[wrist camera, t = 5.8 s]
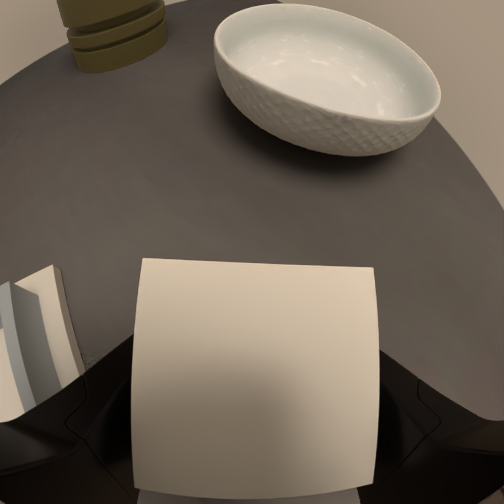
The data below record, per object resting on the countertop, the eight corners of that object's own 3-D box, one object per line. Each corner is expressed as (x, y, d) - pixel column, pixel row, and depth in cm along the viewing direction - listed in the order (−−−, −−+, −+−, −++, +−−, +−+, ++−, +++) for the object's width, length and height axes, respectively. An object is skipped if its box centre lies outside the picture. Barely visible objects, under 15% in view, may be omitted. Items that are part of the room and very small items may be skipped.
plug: (287, 415, 14) (372, 483, 4) (192, 413, 13) (134, 487, 4) (288, 325, 15) (373, 267, 6) (195, 322, 15) (142, 258, 6)
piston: (183, -51, 15) (71, -16, 11) (187, 38, 26) (99, 84, 22) (128, -48, 17) (42, -13, 13) (138, 22, 28) (65, 60, 24)
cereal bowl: (268, 44, 26) (276, -9, 19) (411, 106, 24) (439, 57, 18) (171, 132, 20) (157, 54, 13) (383, 232, 18) (442, 172, 12)
